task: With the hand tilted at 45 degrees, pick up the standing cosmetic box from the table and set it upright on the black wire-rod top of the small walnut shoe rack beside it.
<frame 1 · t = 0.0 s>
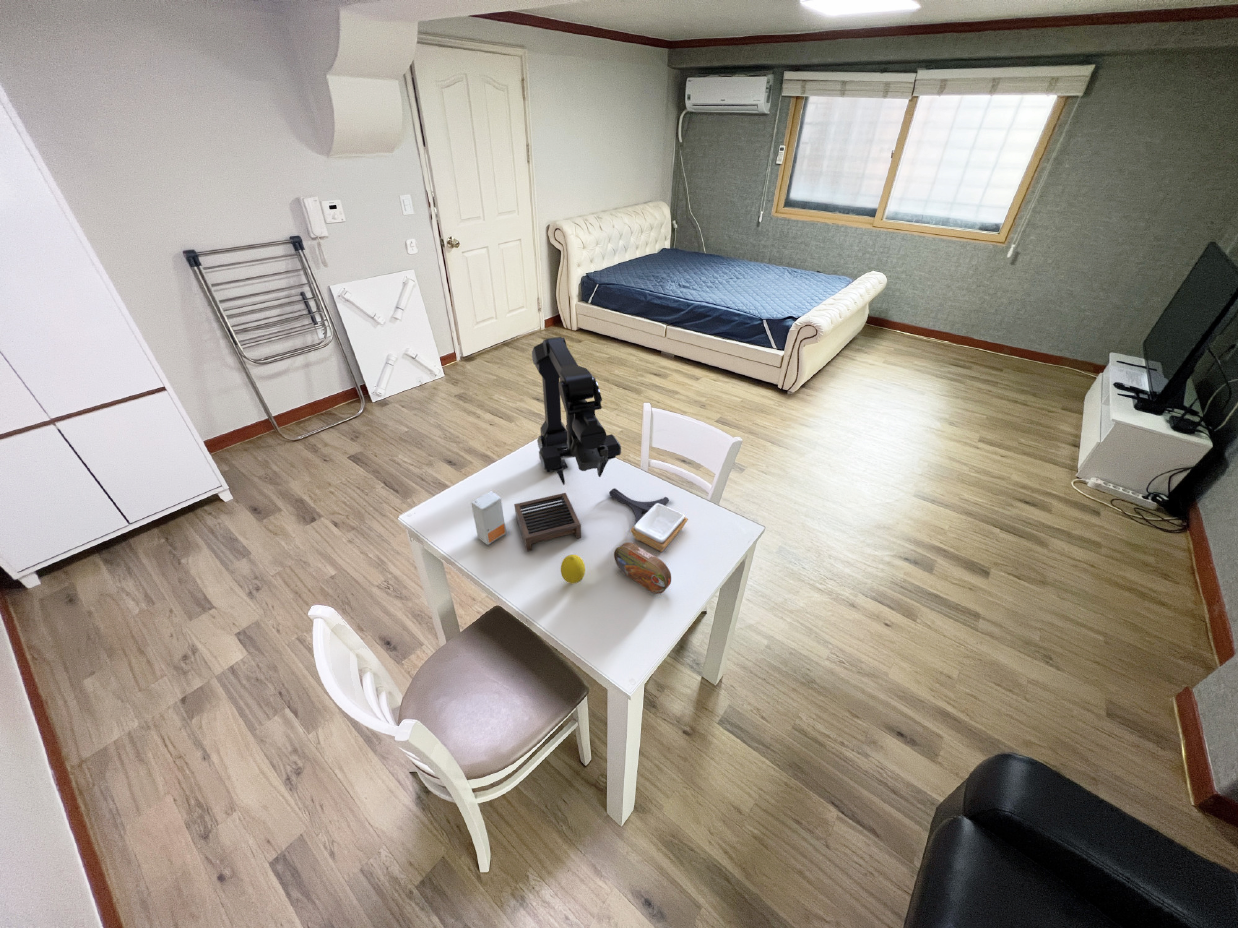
hand: (581, 479, 120), 15 cm above the table, tool pointing down, fingers open, 9 cm apart
bracket: (632, 506, 135), on the table
tin: (641, 579, 114), on the table
cosmetic box: (492, 536, 125), on the table
lemon: (573, 581, 113), on the table
shoe rack: (547, 527, 128), on the table
soap dish: (658, 535, 126), on the table
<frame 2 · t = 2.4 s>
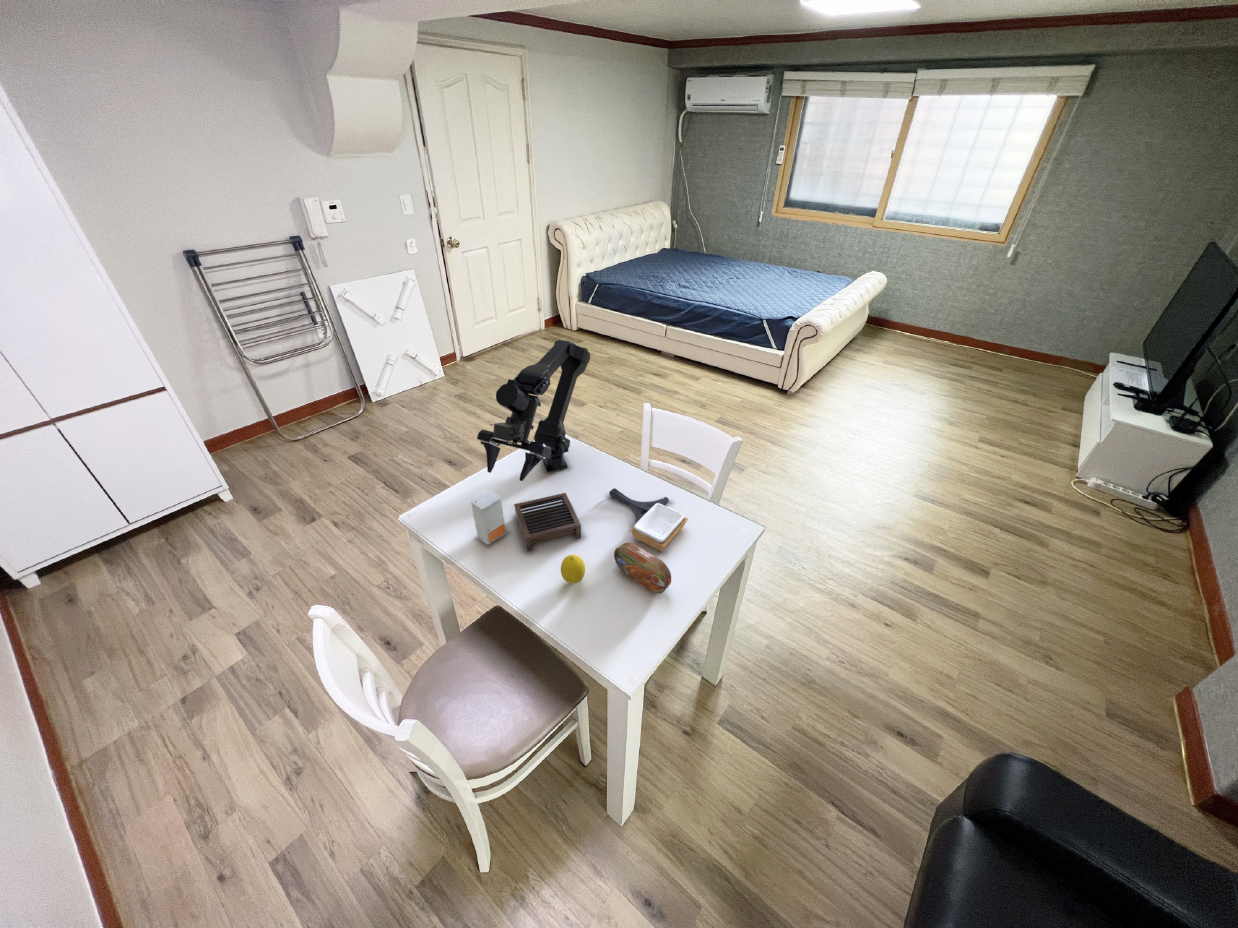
hand: (504, 476, 123), 13 cm above the table, tool tilted 45°, fingers open, 9 cm apart
nothing on the table moved.
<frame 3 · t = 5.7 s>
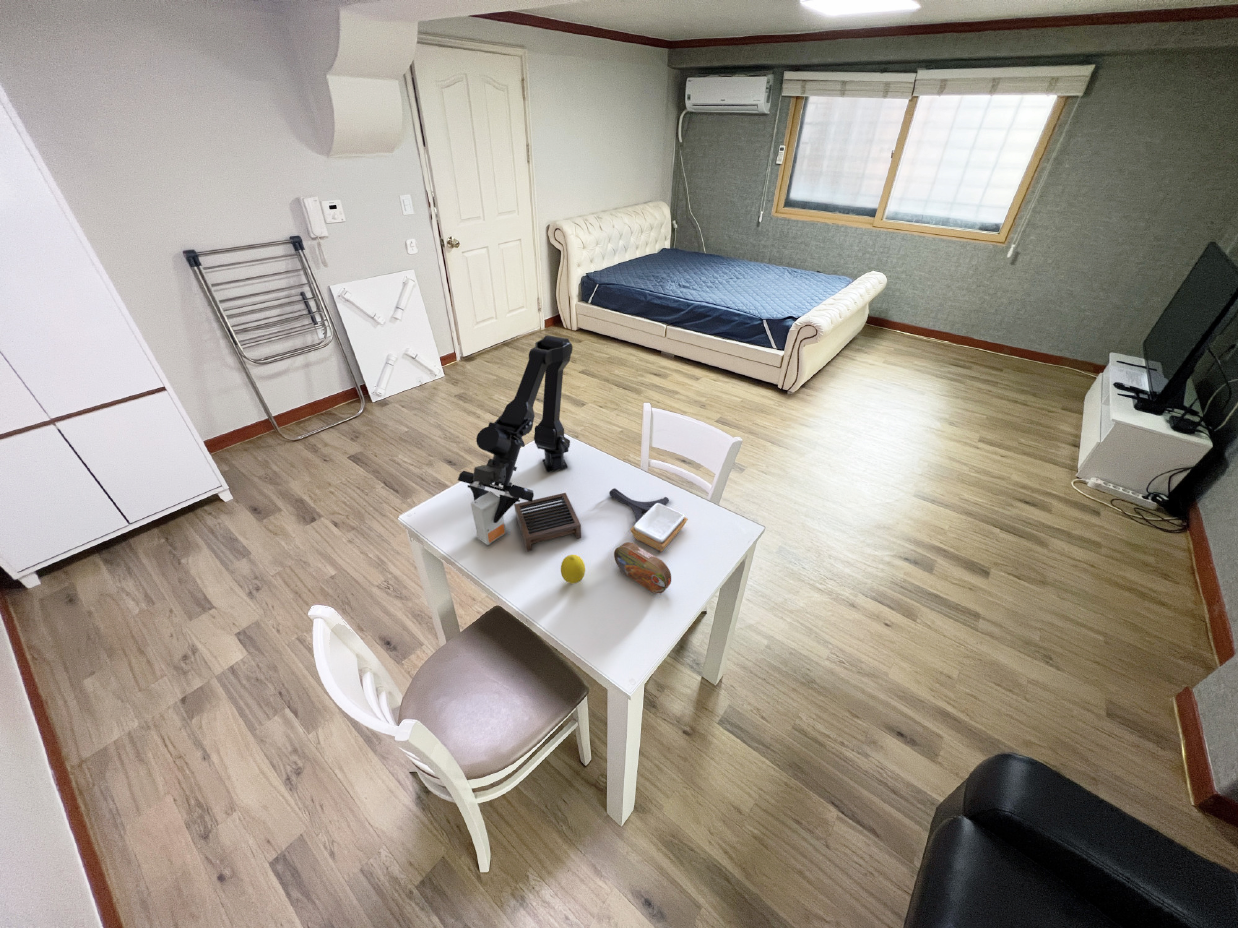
hand: (485, 519, 120), 7 cm above the table, tool tilted 45°, fingers closed on cosmetic box, 5 cm apart
cosmetic box: (492, 536, 125), on the table, touching gripper
everything else where it was.
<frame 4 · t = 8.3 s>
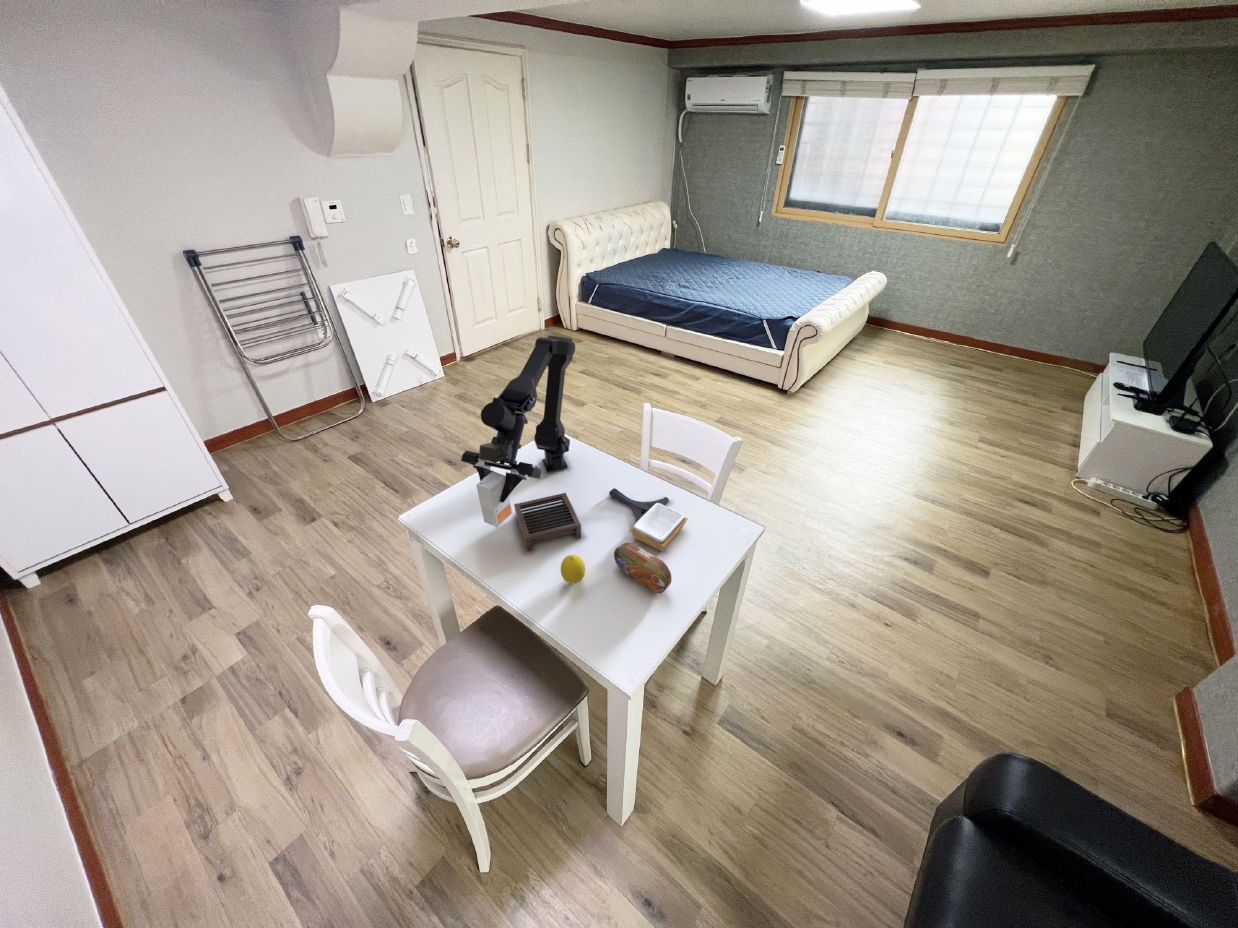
hand: (492, 500, 116), 13 cm above the table, tool tilted 45°, fingers closed on cosmetic box, 4 cm apart
cosmetic box: (499, 518, 120), point 6 cm above the table, touching gripper
everything else where it was.
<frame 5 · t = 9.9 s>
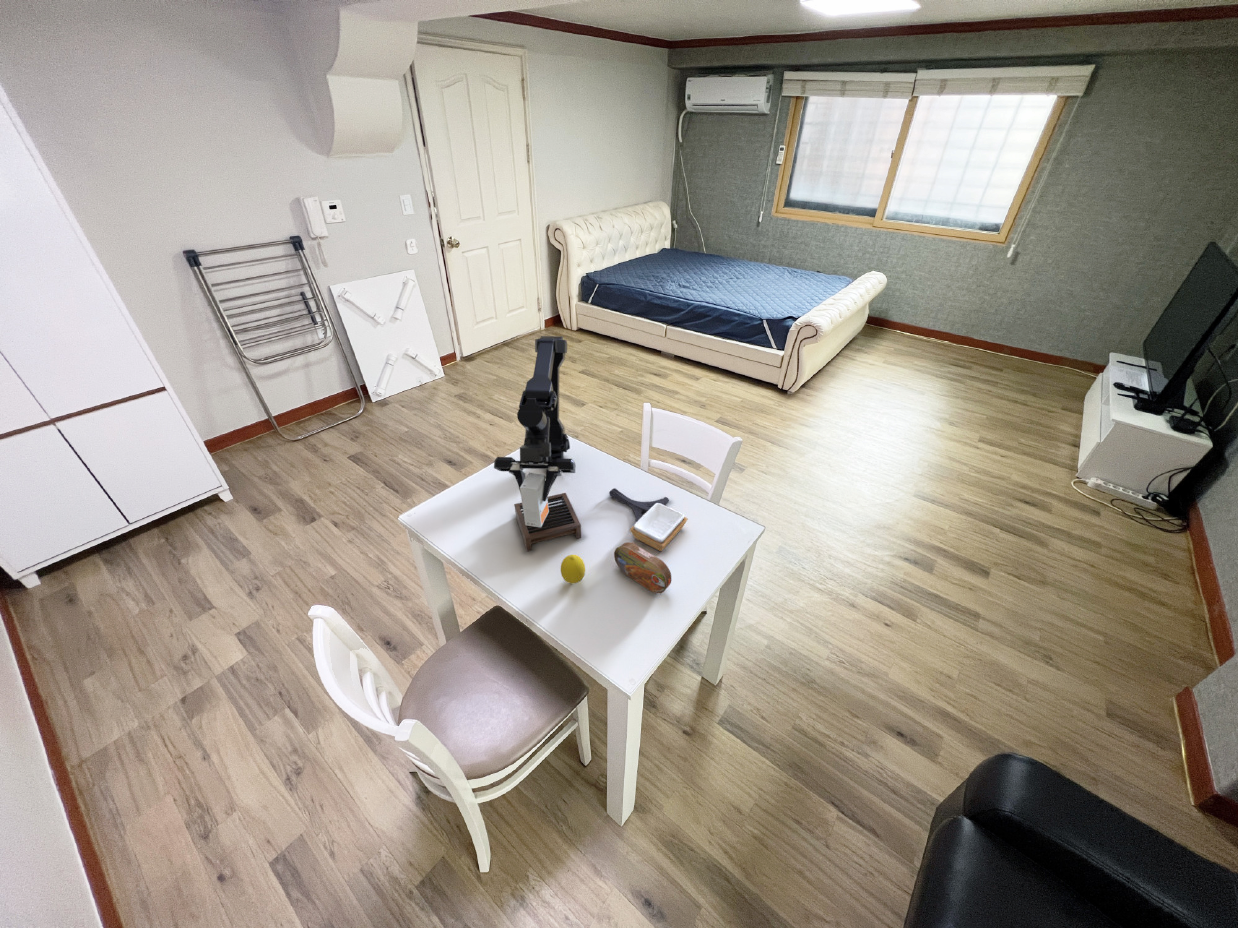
hand: (533, 501, 116), 13 cm above the table, tool tilted 45°, fingers closed on cosmetic box, 4 cm apart
cosmetic box: (537, 519, 121), point 6 cm above the table, touching gripper
everything else where it was.
when the fingers open (11 cm above the table, at t = 10.9 s): cosmetic box stays where it is, resting on shoe rack.
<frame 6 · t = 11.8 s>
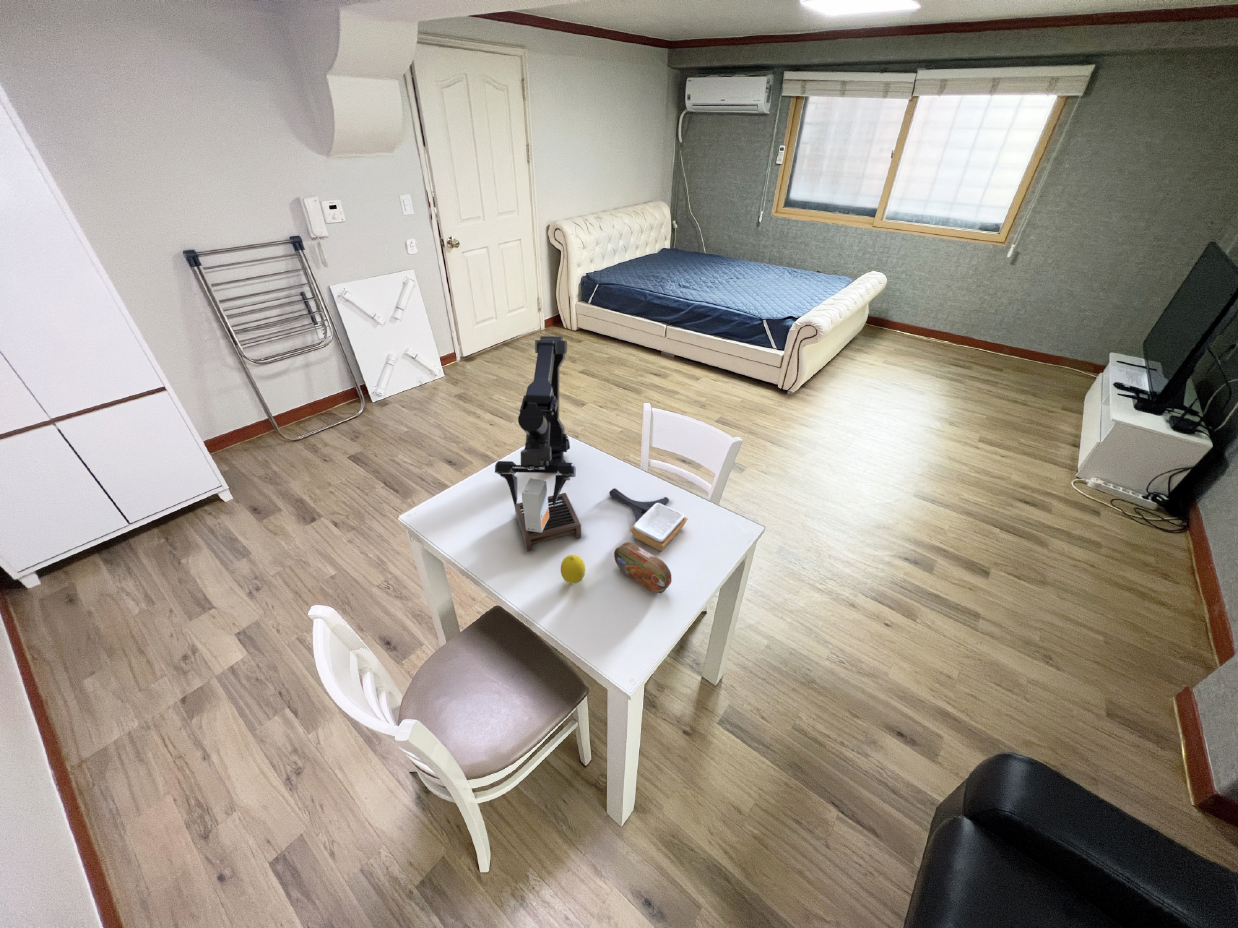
hand: (534, 504, 117), 12 cm above the table, tool tilted 45°, fingers open, 9 cm apart
cosmetic box: (538, 524, 122), point 4 cm above the table, touching shoe rack
everything else where it was.
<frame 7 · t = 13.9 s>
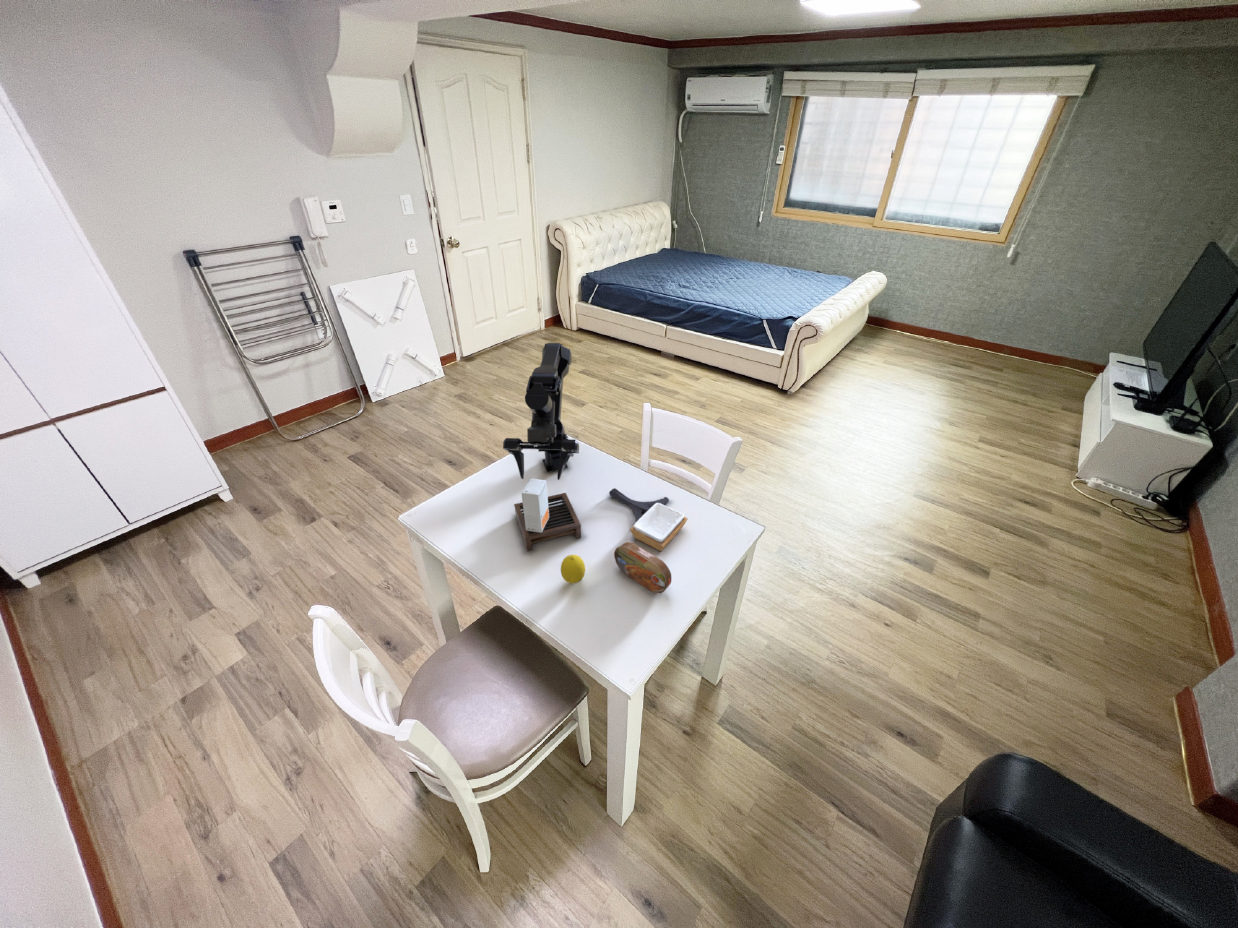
hand: (540, 479, 124), 12 cm above the table, tool tilted 45°, fingers open, 9 cm apart
nothing on the table moved.
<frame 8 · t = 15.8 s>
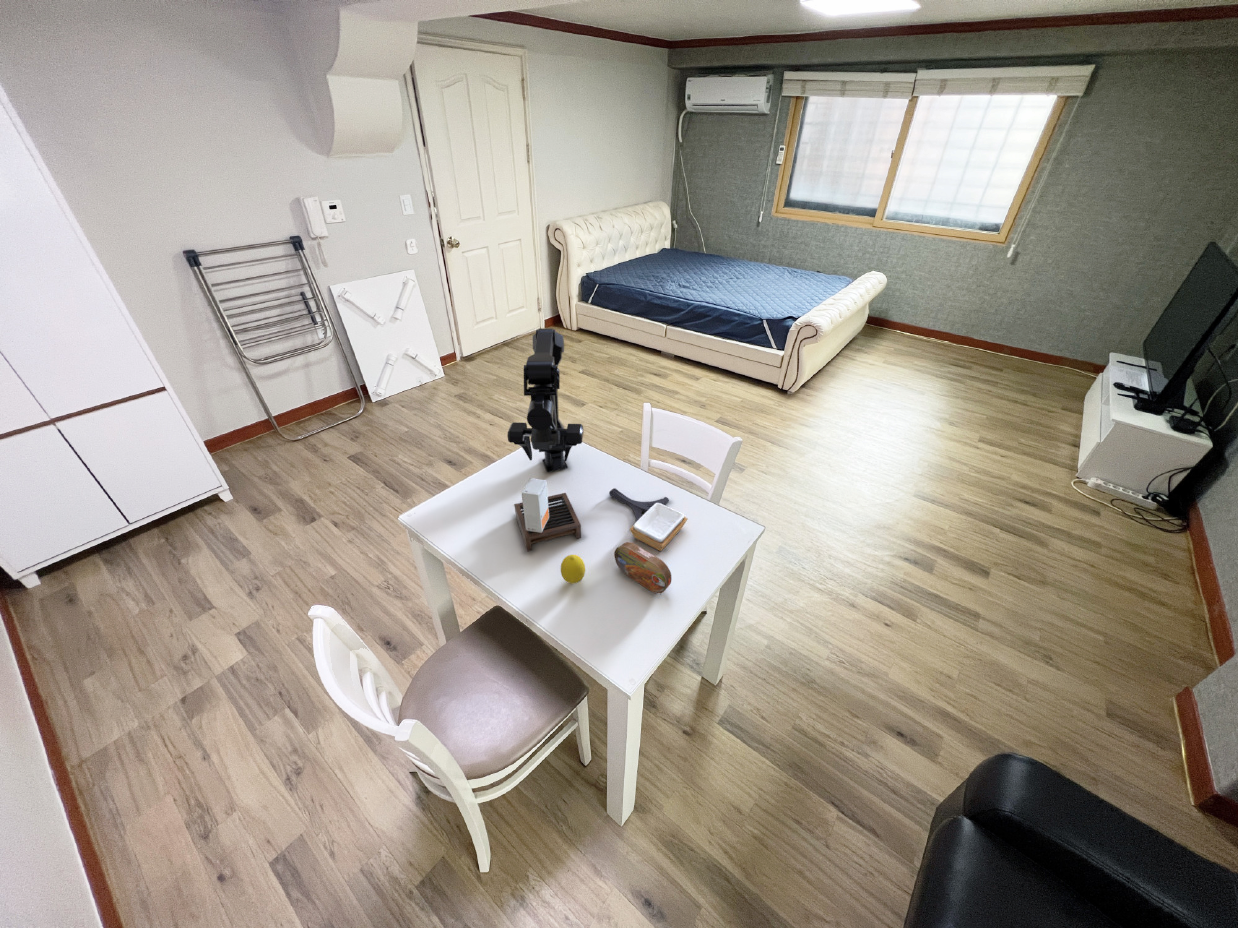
hand: (548, 460, 130), 13 cm above the table, tool pointing down, fingers open, 9 cm apart
nothing on the table moved.
at the end: cosmetic box inside the target area on the shoe rack (3.9 cm from its centre), point 4.3 cm above the shoe rack's base; cosmetic box tilted 0°; the gripper is holding nothing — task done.
